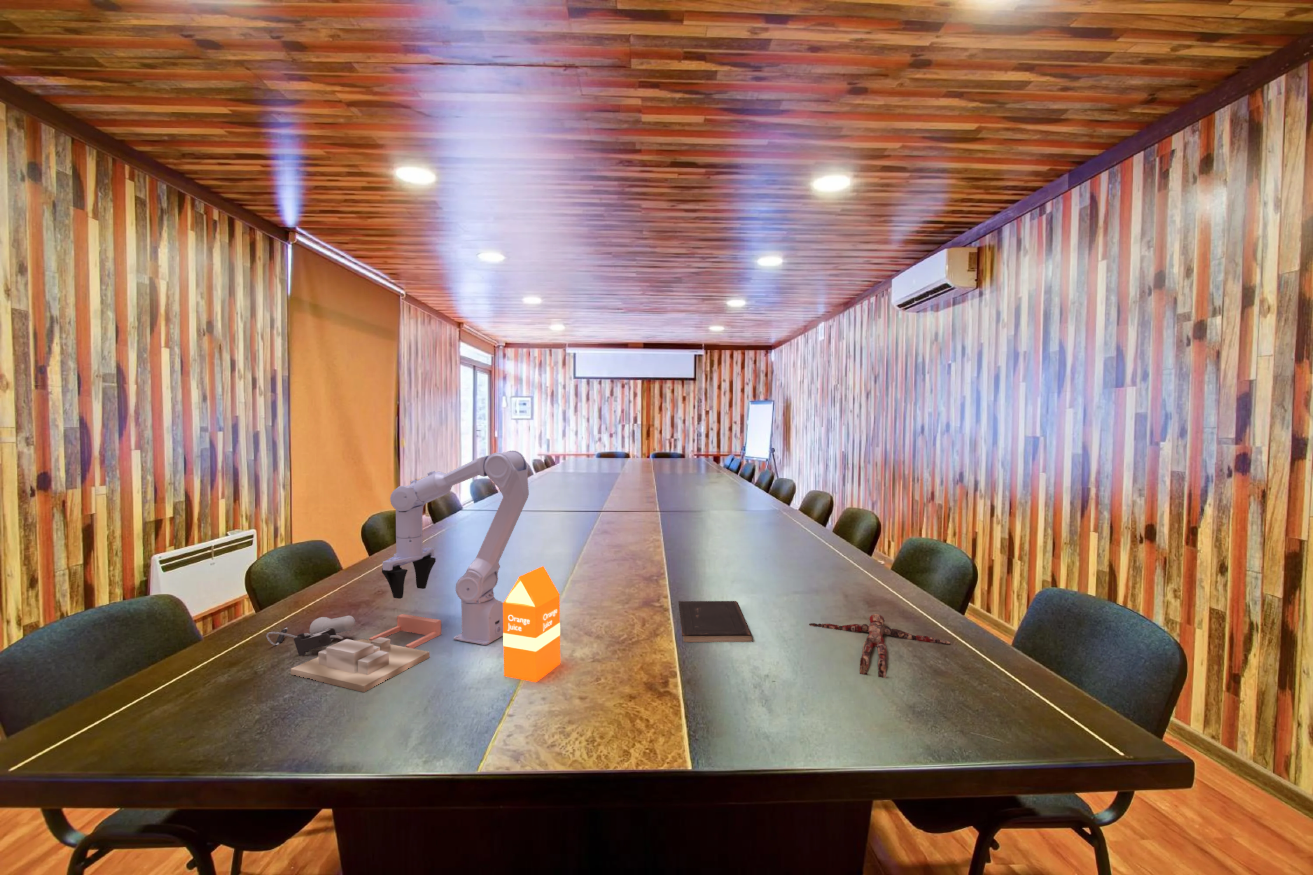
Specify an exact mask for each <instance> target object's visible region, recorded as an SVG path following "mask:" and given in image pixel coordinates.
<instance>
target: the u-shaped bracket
mask: <svg viewBox="0 0 1313 875" xmlns="http://www.w3.org/2000/svg"><path fill="white" fill-rule="evenodd" d="M396 620H397V626H394V627H392V628H390V629H387V630H385V631H382V632H381V633H378V634H375V635H374V636H371V637H369V638H368V640H370V641H373V640H375V639H377V638H379V637H382V638H384V637H385V638H387V637H390V636H392V635H394V634H396V633H399V632H405V633H407V632H408V633H411V632H412V633H413V634H418V635H423V636H422V637H420V638H417V639H416V640H413V641H411V642H409V643H407V644H405V647H407V648H412V649H416V648H417V647H418V646H421V645H423V644H425V643H426V642H429V641H431V640H433V639H435V638H438V637H439V636H441V635H442V620H441V619H436V618H435V619H434V618H429V617H424V616H417V615H411V614H405V613H402V614H399V615H397V617H396ZM412 633H411V634H412ZM391 634H392V635H391ZM389 635H390V636H389ZM386 636H387V637H386Z"/></svg>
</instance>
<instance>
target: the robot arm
mask: <svg viewBox="0 0 1313 875" xmlns="http://www.w3.org/2000/svg"><path fill="white" fill-rule="evenodd" d="M528 472H529V465H528V462H527V460H526V459H525V457H524V456H523V454H522V453H521V452H519V451H517V450H508V451H506V452H505V451H503V452H494V453H493V452H492V454H491V453H490V454H489V455H485V456H481V457H477V458H475V459H473V460H471V461H469V462H466V463H465V464H464V465H461V466H459V467H457V468H455V469H453V470H450V471H449V472H447V473H444V472H443V471H436V470H431V471H429V472H427V474H426V476H425V477H423V478H420V479H418V480H417V479H413V480H411V481H409V482H410V484H408V485H400V486H397V488H395V489H394V490H393V491H391V494H390V498H389V501H390V504H391V506H392V507H393V508H394V509H395V541H396V542H395V548H396V550H395V553H393V556H392V557H389V558H388V559H386V560H384V561H382V568H381V573H382V574H383V576H384V577H385V579H386V581H387V582H388V585H389V588H390V591H391V593H392V598H393V599H403V597H404V592H405V591H404V590H405V588H404V587H405V579H406V575H407V573H408V569H406V568H402V566H404V565H407V564H411V563H412V565H413V568H414V569H413V570H414V572H415V574H414V575H415V583H416V585H415V586H416V588H417V589H421V590H423V589H424V590H425V589H426V587H427V585H428V581H429V577H430V574H431V571H432V568H433V567H434V565H435V563H436V562H437V561H436V560H437V559H436V557H434V556H435V547H429V546H428V547H424V544H423V542H424V541H423V537H424V535H423V533H424V532H423V512H424V506H425V505H426V504H428V503H430V502H432V501H434V500H437V499H440V498H442V497H443V496H446V495H448V494H449V493H450V492H451V491H452V488H453V487H454V486H455V485H457V484H460V483H462V482H466V481H468V480H471V479H472V478H475V477H478V476H480V477H488V478H489V480H491V482H492V483H493V484H494V485H496V487H497V488H498V490H500V493H501V495H502V499H501V501H500V503H499V506H498V507H497V511H496V512H495V515H494V517H493V519H492V521H491V523H490V526H489V528H488V530H487V533H486V535H485V536H484V540H483V541H482V544H481V546H480V548H479V550H478V553H477V555H476V557H475V559H473V560H472V562H471V563H470V564H469V566H468V567H467V569H466V570H465V573H464V574H463V575H462V576H461V577H459V579H457V580H456V583H455V592H456V595H457V598H459V599H460V601H461V602H460V603H461V633H459V634H457V635H455V636H454V637H453V640H455V641H461V642H467V643H472V644H478V645H483V646H488V645H489V644H491V643H492V642H494V641H495V640H496V641H497V639H499V638H501V637H503V602H502V601H501V600H498V599H497V598H495V593H494V588H495V587H496V586H497V585H498V582H499V574H498V573H499V570H500V568H501V565H500V563H499V562H500V560H501V558H502V556H503V553H504V552H505V549H506V547H507V544H508V543H509V540H510V538H511V536H512V533H513V531H514V529H515V527H516V525H517V522H518V520H519V518H520V516H521V515H522V514H521V513H522V511H523V509H524V507H525V506H526V502H527V500H528V498H529V495H530V493H529V492H530V491H529V490H530V489H529V479H528Z"/></svg>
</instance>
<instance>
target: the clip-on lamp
mask: <svg viewBox="0 0 1313 875" xmlns="http://www.w3.org/2000/svg"><path fill="white" fill-rule="evenodd" d="M355 626H356V620H355V618H354V617H353V616H352V615H345V616H340V617H334V618H330V617H327V616H320V617H318V618H316V619H314V620H313V621H311V624H310V626H309V633H308V632H306V633H303V632H302V633H299V634H297V635H294V634H291V633H287V632H288V627H285V628H283V629H281V630H280V632H279V631H270V632H267V633H266V636H265V637H266V639H267V641H268V642H269V643H270V644H271V645H273V646H278V645H280V644H282V642H283V640H284V639H285V636H287V637H291V638H293V642H294V646H295V648H296V651H297V654H298V656H299V657H301V656H305V655H306V653H308V652H309V651H311V650H316V649H319V648H323V647H326V646H327V647H329V646H331V645H332V641H334V640H336V639H339V640H341V641H343V640H344V637H343V636H341V635H338V634H341V633H344V632H349V631H352V630H353V629H354V627H355ZM273 634H274V635H278V637H277V639H276V641H275V643H274V642H273V641H272V640H271V638H270V636H269V635H273Z"/></svg>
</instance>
